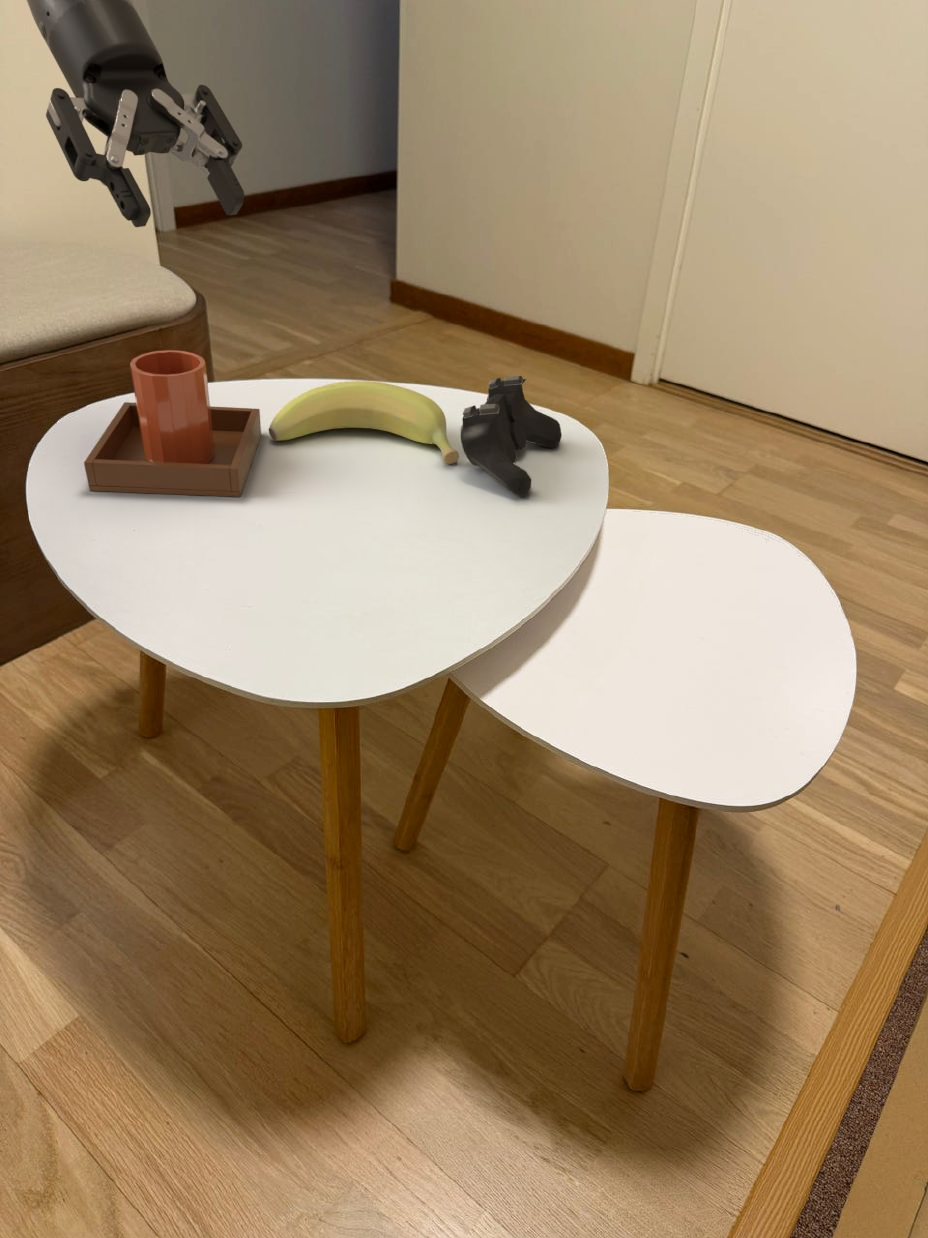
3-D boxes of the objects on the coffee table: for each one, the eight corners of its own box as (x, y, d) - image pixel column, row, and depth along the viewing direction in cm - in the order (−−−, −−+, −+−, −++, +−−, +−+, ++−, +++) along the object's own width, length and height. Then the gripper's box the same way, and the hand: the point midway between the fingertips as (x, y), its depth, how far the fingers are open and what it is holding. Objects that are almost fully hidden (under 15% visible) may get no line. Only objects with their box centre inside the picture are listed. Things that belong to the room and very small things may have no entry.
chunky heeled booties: (515, 452, 107) (484, 374, 103) (568, 438, 104) (538, 356, 99) (472, 513, 94) (435, 427, 90) (530, 499, 91) (494, 408, 87)
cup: (137, 469, 90) (121, 374, 85) (154, 439, 96) (140, 348, 90) (207, 472, 91) (196, 377, 85) (220, 442, 97) (210, 352, 91)
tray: (89, 490, 87) (83, 462, 86) (128, 428, 99) (124, 401, 97) (240, 497, 88) (237, 469, 87) (261, 434, 100) (259, 408, 98)
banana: (334, 347, 103) (484, 410, 98) (337, 386, 108) (481, 448, 102) (260, 412, 96) (417, 484, 90) (267, 450, 100) (417, 521, 95)
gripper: (12, -13, 63) (123, 194, 64) (186, -5, 72) (282, 176, 73) (-4, 66, 69) (98, 254, 70) (159, 64, 78) (248, 231, 79)
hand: (192, 214), depth 71 cm, fingers open, 8 cm apart
